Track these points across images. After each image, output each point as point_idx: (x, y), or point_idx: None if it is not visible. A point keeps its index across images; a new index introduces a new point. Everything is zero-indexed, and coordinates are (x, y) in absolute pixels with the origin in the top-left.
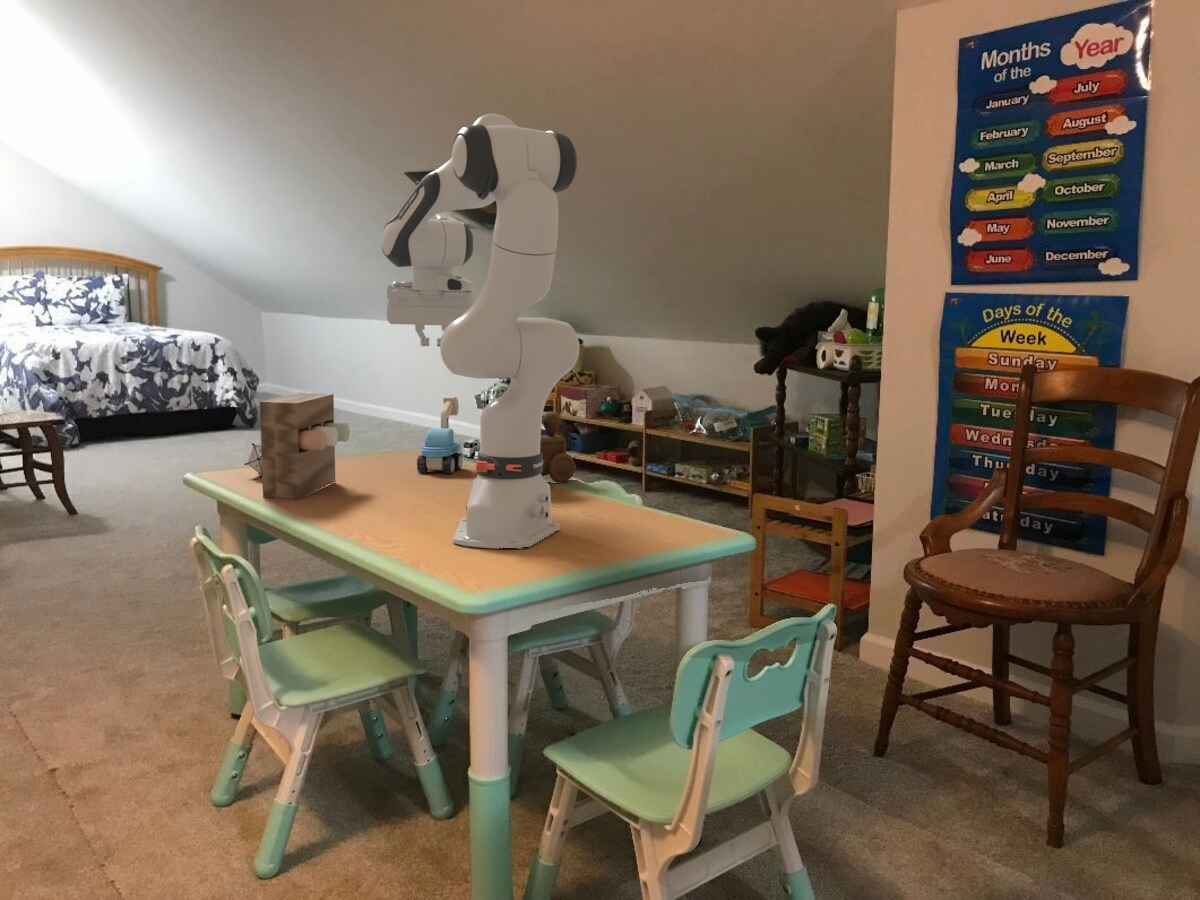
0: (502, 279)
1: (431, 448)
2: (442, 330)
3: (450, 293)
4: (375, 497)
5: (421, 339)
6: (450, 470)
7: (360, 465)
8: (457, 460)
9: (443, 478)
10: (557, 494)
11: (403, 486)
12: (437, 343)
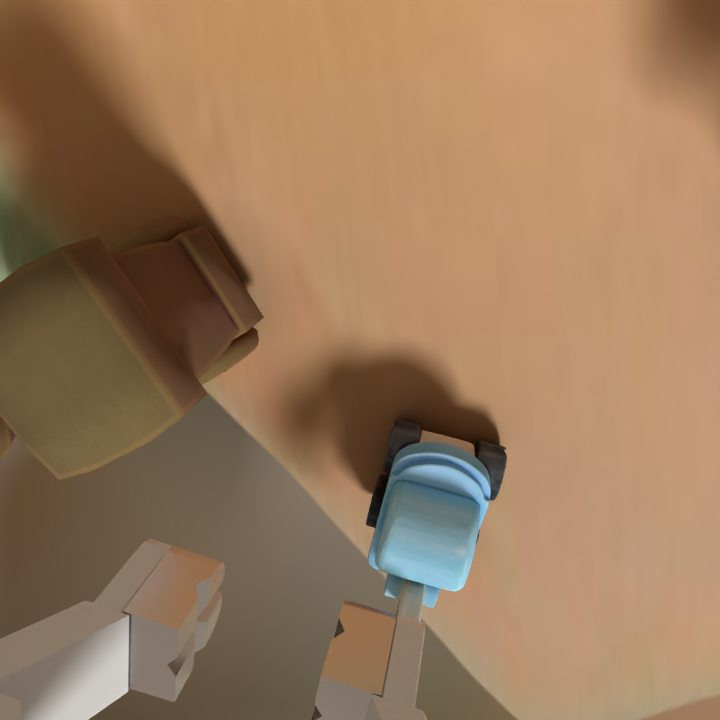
0: None
1: (452, 468)
2: (15, 704)
3: None
4: (637, 14)
5: (402, 679)
6: (396, 419)
7: (700, 562)
8: (378, 486)
9: (415, 360)
10: (52, 129)
11: (538, 229)
12: (203, 578)
